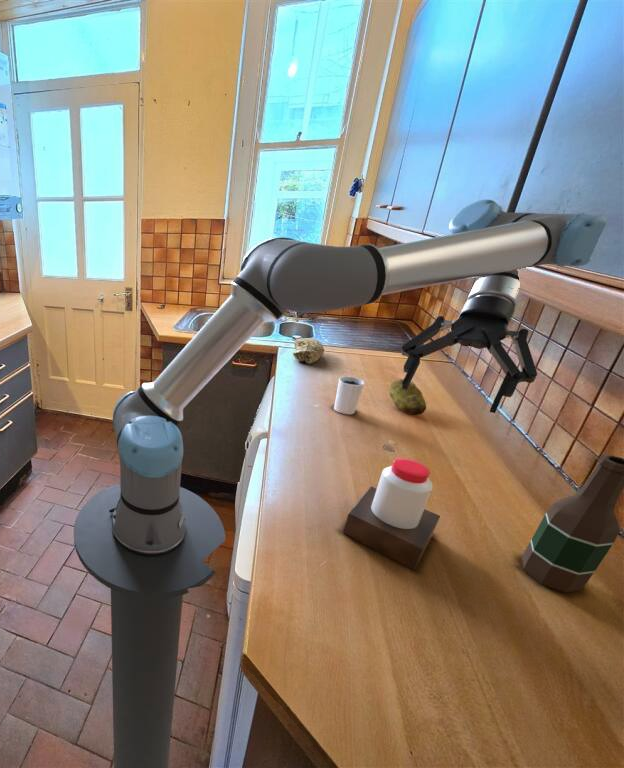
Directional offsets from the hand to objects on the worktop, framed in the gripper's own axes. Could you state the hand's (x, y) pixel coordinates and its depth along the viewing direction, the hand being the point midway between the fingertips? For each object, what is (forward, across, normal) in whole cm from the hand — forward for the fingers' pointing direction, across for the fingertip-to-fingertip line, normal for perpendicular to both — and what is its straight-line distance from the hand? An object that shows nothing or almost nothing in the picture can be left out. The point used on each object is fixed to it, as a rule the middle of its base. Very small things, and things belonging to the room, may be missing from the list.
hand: (446, 397), depth 76 cm
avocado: (-17, +14, -54) cm, 58 cm away
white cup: (-7, +26, -43) cm, 51 cm away
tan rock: (-34, +56, -70) cm, 96 cm away
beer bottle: (+20, -22, -16) cm, 34 cm away
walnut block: (+27, 0, -9) cm, 29 cm away
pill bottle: (+24, 0, -6) cm, 24 cm away
